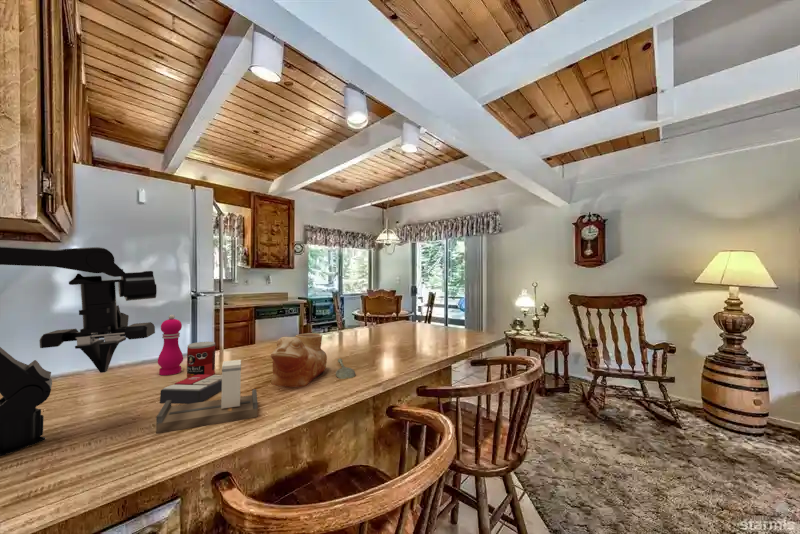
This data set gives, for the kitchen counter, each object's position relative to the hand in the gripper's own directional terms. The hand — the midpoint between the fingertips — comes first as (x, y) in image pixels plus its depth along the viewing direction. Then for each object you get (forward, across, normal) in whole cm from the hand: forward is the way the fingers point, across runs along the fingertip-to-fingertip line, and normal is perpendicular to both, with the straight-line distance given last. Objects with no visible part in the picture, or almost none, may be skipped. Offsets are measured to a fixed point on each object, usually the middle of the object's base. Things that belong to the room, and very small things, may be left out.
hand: (103, 372), depth 75 cm
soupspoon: (+17, -58, -26) cm, 66 cm away
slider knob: (+11, -26, +2) cm, 28 cm away
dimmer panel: (+13, -21, +2) cm, 25 cm away
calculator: (+14, -14, -16) cm, 26 cm away
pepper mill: (+13, -1, -41) cm, 43 cm away
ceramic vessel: (+16, -43, -22) cm, 50 cm away
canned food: (+14, -12, -32) cm, 37 cm away
